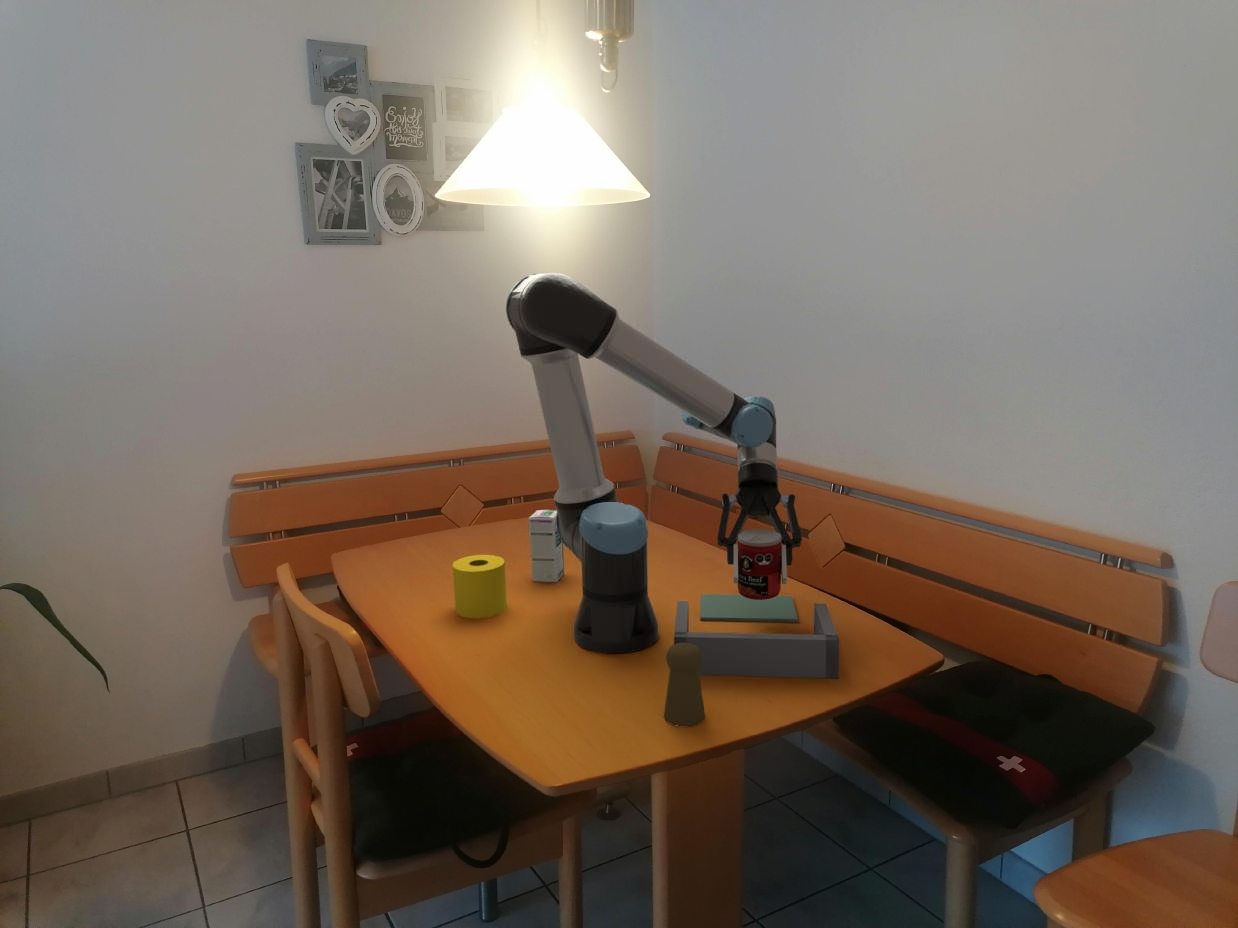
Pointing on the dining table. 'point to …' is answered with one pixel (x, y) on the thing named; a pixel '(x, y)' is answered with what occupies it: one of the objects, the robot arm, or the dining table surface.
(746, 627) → the dining table surface
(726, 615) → the green mat
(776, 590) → the canned food
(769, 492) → the robot arm
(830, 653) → the open box
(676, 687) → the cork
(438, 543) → the dining table surface
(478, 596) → the tape roll
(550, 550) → the syrup box
